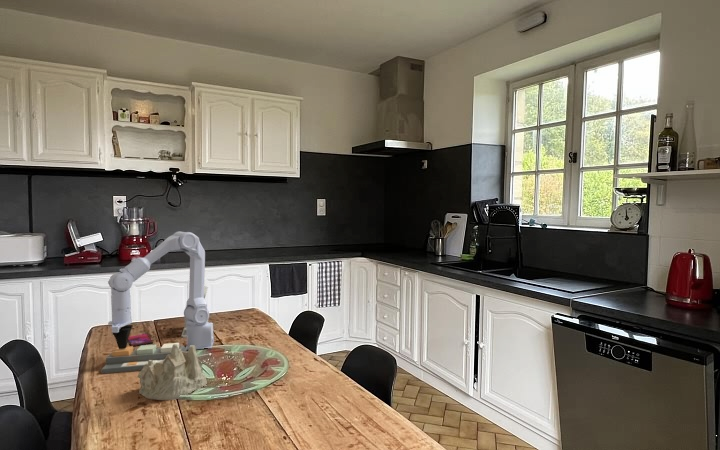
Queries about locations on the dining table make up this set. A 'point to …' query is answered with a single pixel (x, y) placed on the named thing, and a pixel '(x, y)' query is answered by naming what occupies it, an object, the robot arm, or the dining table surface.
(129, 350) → the orange key
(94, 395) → the dining table surface
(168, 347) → the cream key
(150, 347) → the sage key
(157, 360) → the keypad
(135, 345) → the smartphone
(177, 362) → the ceramic cottage
